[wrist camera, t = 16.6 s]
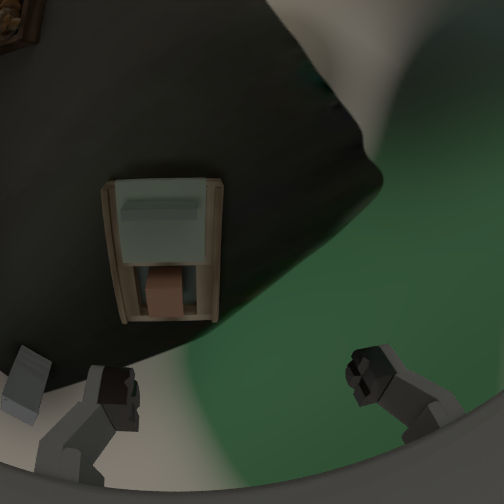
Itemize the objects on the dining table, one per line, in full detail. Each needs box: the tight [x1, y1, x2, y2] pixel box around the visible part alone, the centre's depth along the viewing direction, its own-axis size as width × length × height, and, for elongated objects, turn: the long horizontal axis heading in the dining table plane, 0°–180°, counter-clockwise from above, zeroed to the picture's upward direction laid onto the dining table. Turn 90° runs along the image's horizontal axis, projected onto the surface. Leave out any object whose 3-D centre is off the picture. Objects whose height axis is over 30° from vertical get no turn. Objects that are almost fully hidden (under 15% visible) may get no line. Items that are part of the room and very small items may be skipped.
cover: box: [115, 178, 206, 263], centre depth 32 cm, size 10×10×3 cm
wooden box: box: [101, 179, 224, 324], centre depth 37 cm, size 14×19×4 cm
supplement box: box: [1, 345, 52, 426], centre depth 39 cm, size 7×7×13 cm
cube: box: [145, 267, 184, 317], centre depth 38 cm, size 4×4×5 cm
